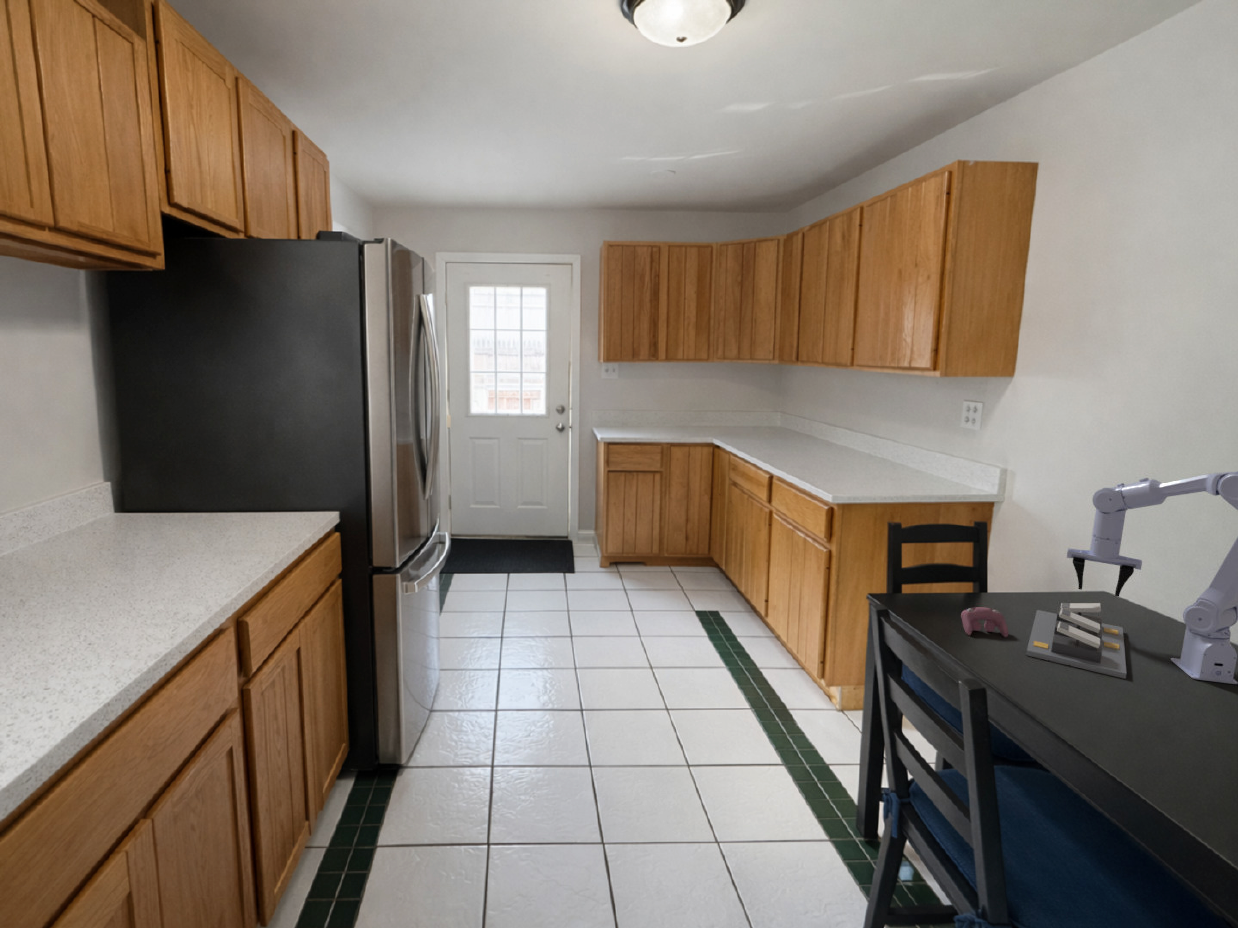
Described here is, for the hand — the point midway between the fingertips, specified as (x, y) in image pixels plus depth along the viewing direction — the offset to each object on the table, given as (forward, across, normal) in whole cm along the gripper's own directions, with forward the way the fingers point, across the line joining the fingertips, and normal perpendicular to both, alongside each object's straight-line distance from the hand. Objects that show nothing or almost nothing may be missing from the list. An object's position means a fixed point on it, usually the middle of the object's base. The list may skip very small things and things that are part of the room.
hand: (1098, 591), depth 164 cm
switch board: (+10, +3, +10) cm, 15 cm away
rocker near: (+5, +3, +20) cm, 21 cm away
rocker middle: (+5, +3, +10) cm, 11 cm away
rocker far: (+5, +3, 0) cm, 6 cm away
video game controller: (+11, +22, +17) cm, 29 cm away
